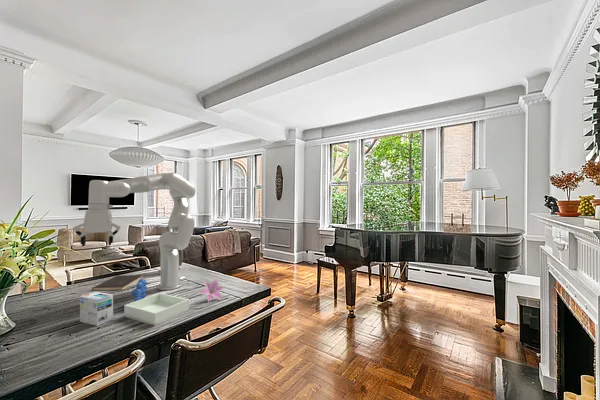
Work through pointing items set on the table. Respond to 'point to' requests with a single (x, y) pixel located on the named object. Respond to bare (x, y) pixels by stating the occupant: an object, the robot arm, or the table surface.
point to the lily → (212, 290)
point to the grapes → (140, 290)
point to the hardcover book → (118, 282)
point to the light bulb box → (96, 308)
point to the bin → (156, 308)
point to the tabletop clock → (179, 257)
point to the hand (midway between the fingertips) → (97, 245)
